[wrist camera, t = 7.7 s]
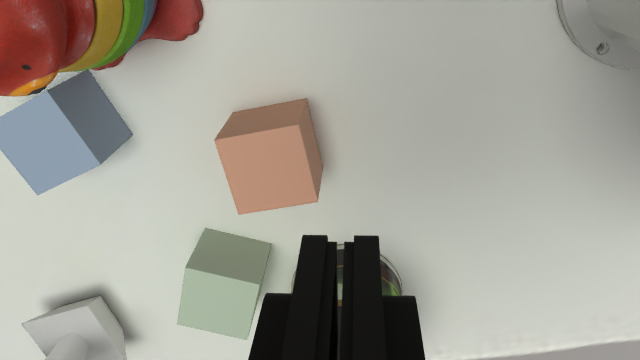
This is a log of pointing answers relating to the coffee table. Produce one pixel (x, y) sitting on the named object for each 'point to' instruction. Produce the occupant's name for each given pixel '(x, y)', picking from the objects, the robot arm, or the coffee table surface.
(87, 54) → the stacking bear
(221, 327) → the sage block
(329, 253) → the robot arm
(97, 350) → the figurine
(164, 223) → the coffee table surface
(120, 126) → the slate block
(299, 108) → the terracotta block
